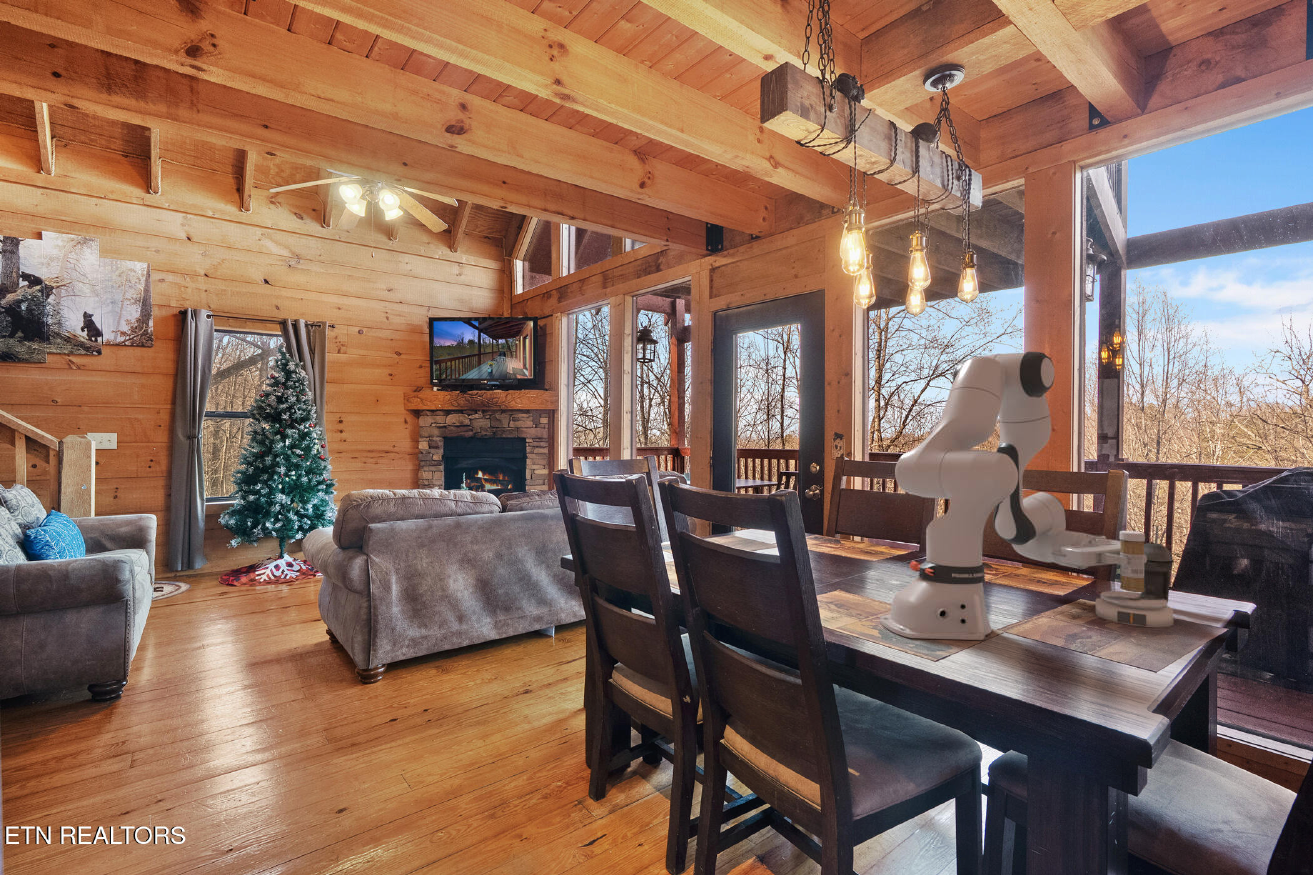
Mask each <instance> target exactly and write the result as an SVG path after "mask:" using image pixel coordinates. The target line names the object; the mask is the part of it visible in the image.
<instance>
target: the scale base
mask: <svg viewBox="0 0 1313 875" xmlns="http://www.w3.org/2000/svg"><path fill="white" fill-rule="evenodd" d="M1095 615H1096V616H1097V617H1098V618H1101V619H1104V620H1107V621H1110V622H1113V623H1116V624H1117V623H1118V624H1123V625H1128V626H1134V627H1143V628H1169V627H1172V626H1174V609H1173V607H1171V606H1169V605H1167V607H1166V608H1163V609H1142V608H1132V607H1126V606H1120V605H1115V604H1112V603H1108V602H1105V601H1103V600H1102V599H1101V597H1098V598H1096V599H1095Z"/></svg>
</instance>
